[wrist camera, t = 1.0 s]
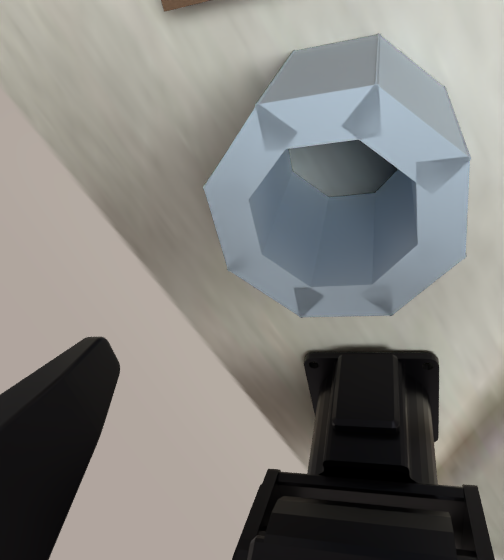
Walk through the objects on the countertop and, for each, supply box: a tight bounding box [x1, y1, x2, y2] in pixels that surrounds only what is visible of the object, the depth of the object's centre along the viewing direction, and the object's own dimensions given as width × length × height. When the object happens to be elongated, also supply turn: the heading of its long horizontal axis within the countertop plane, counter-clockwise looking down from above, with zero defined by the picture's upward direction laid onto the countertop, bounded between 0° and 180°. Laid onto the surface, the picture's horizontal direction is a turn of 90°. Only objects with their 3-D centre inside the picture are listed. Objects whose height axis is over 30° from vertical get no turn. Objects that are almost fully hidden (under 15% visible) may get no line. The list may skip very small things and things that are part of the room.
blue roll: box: [203, 34, 471, 318], centre depth 15 cm, size 7×7×6 cm
